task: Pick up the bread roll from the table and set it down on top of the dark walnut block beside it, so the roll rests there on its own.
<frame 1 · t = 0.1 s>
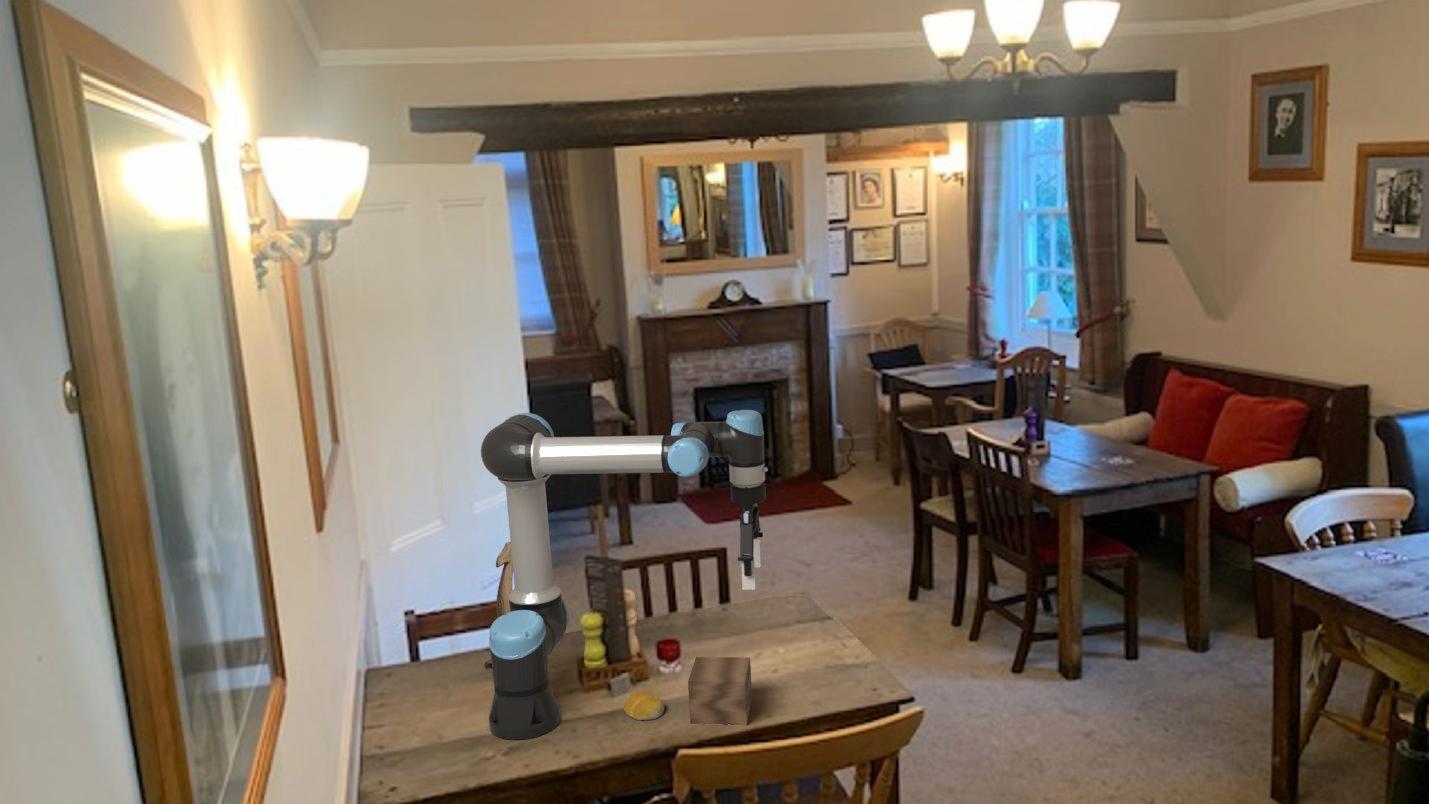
hand: (752, 577, 230), 28 cm above the table, tool pointing down, fingers open, 13 cm apart
bread roll: (644, 713, 232), on the table
walnut block: (721, 712, 230), on the table
bird sculpture: (516, 667, 258), on the table
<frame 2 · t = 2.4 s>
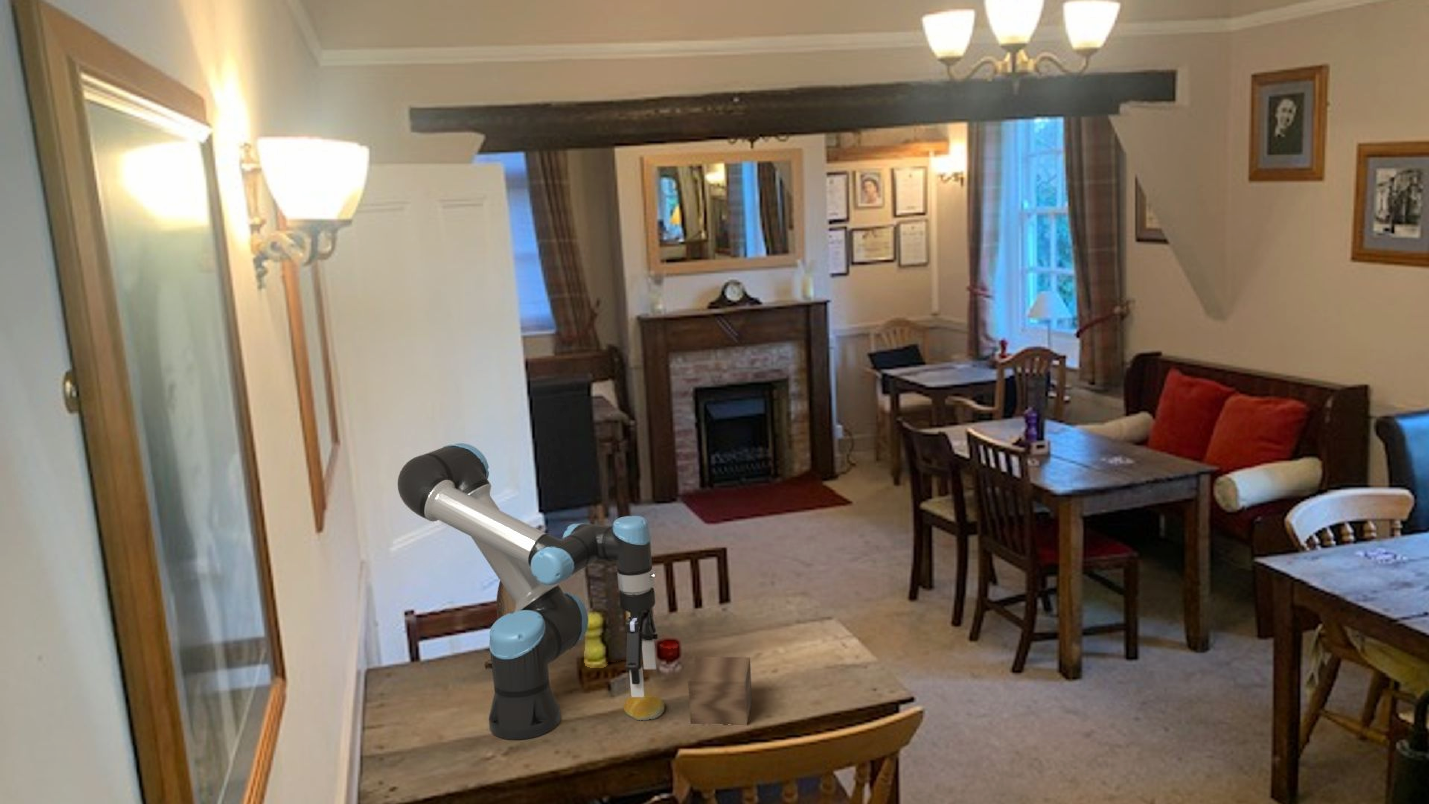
hand: (644, 682, 230), 7 cm above the table, tool pointing down, fingers open, 13 cm apart
nothing on the table moved.
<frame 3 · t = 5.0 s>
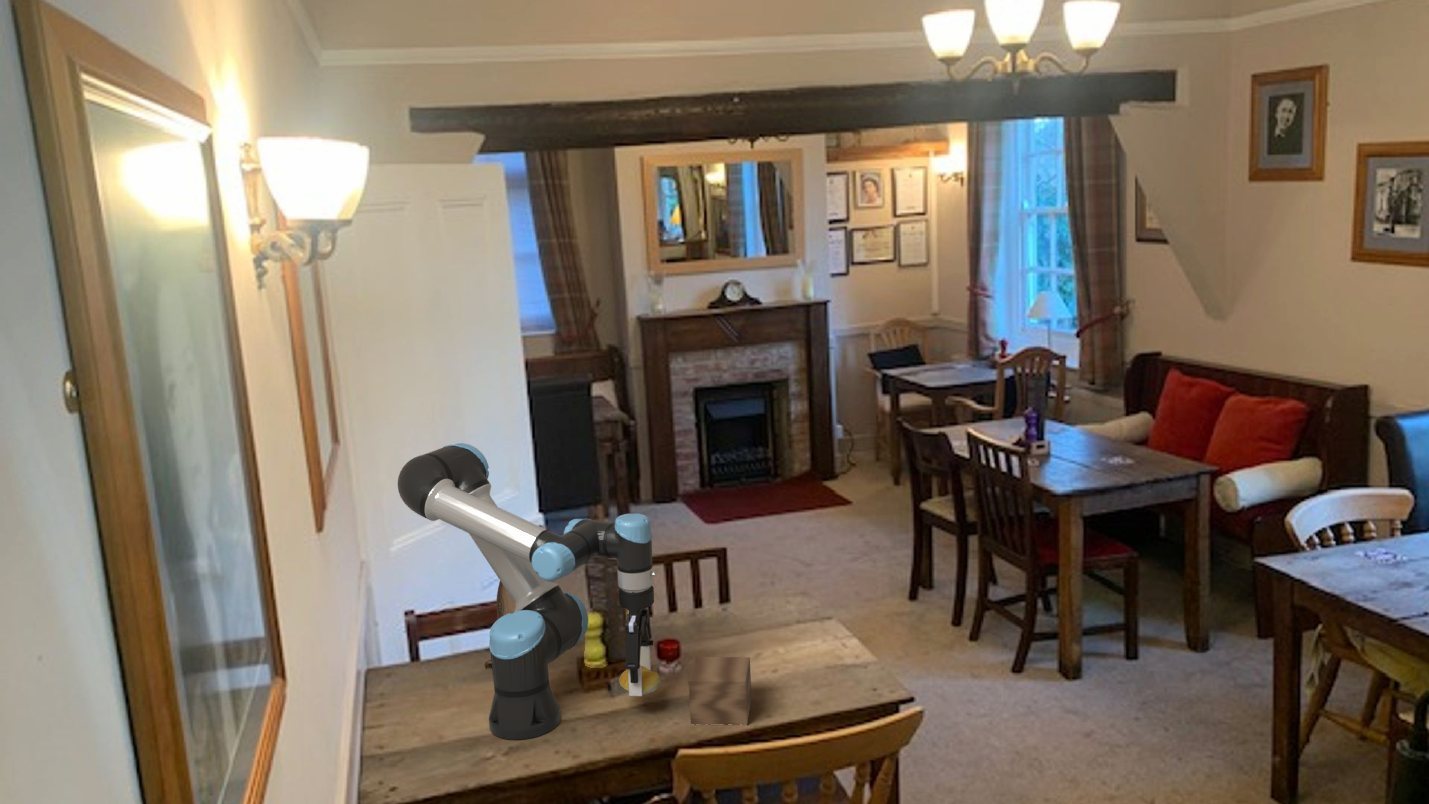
hand: (640, 684, 231), 6 cm above the table, tool pointing down, fingers closed on bread roll, 9 cm apart
bread roll: (639, 687, 231), point 6 cm above the table, touching gripper
everything else where it was.
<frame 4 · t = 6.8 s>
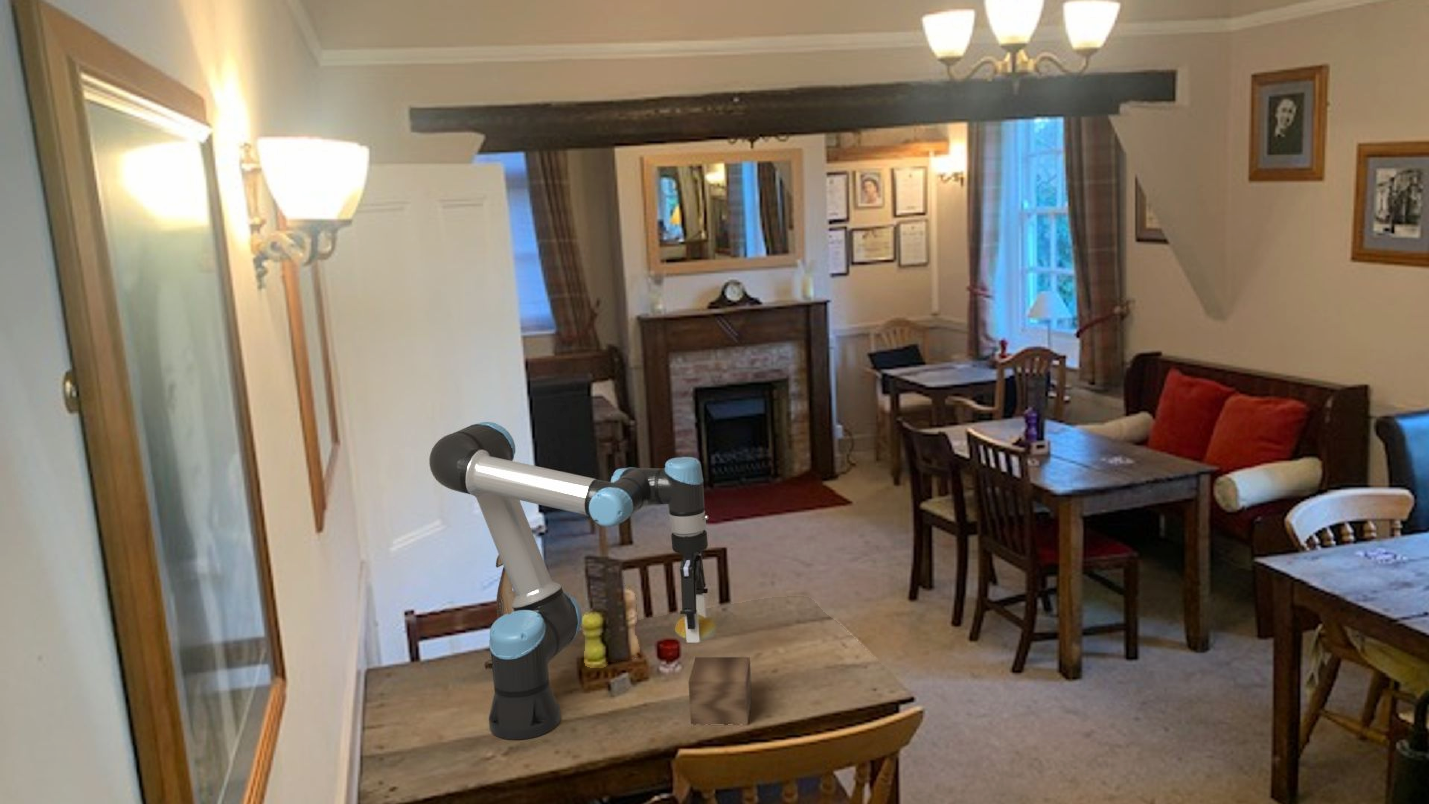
hand: (697, 632, 227), 18 cm above the table, tool pointing down, fingers closed on bread roll, 9 cm apart
bread roll: (696, 635, 227), point 18 cm above the table, touching gripper
everything else where it was.
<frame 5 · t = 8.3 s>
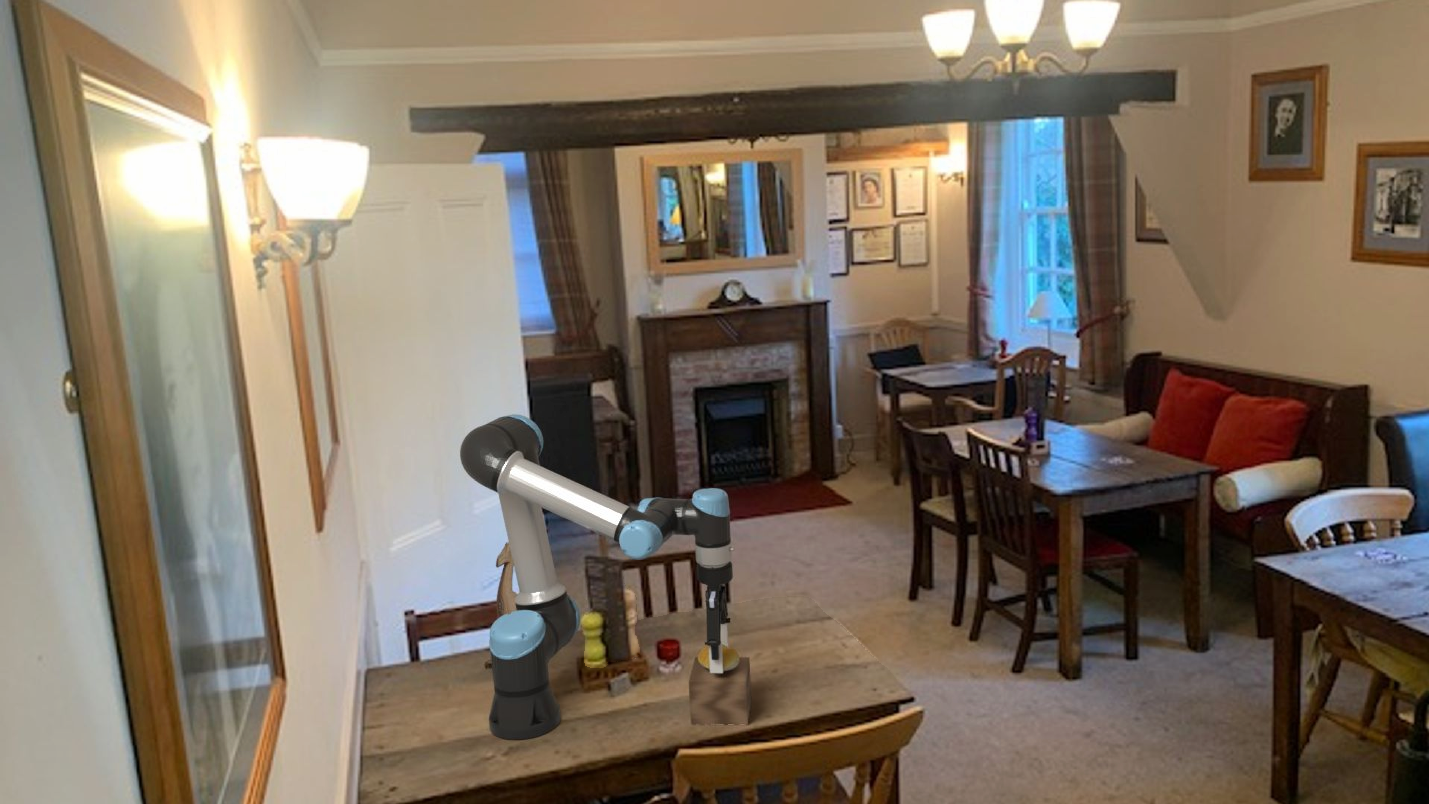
hand: (719, 662, 228), 11 cm above the table, tool pointing down, fingers closed on bread roll, 9 cm apart
bread roll: (719, 664, 228), point 11 cm above the table, touching gripper
everything else where it was.
when the fingers open (11 cm above the table, at t = 9.3 s): bread roll stays where it is, resting on walnut block.
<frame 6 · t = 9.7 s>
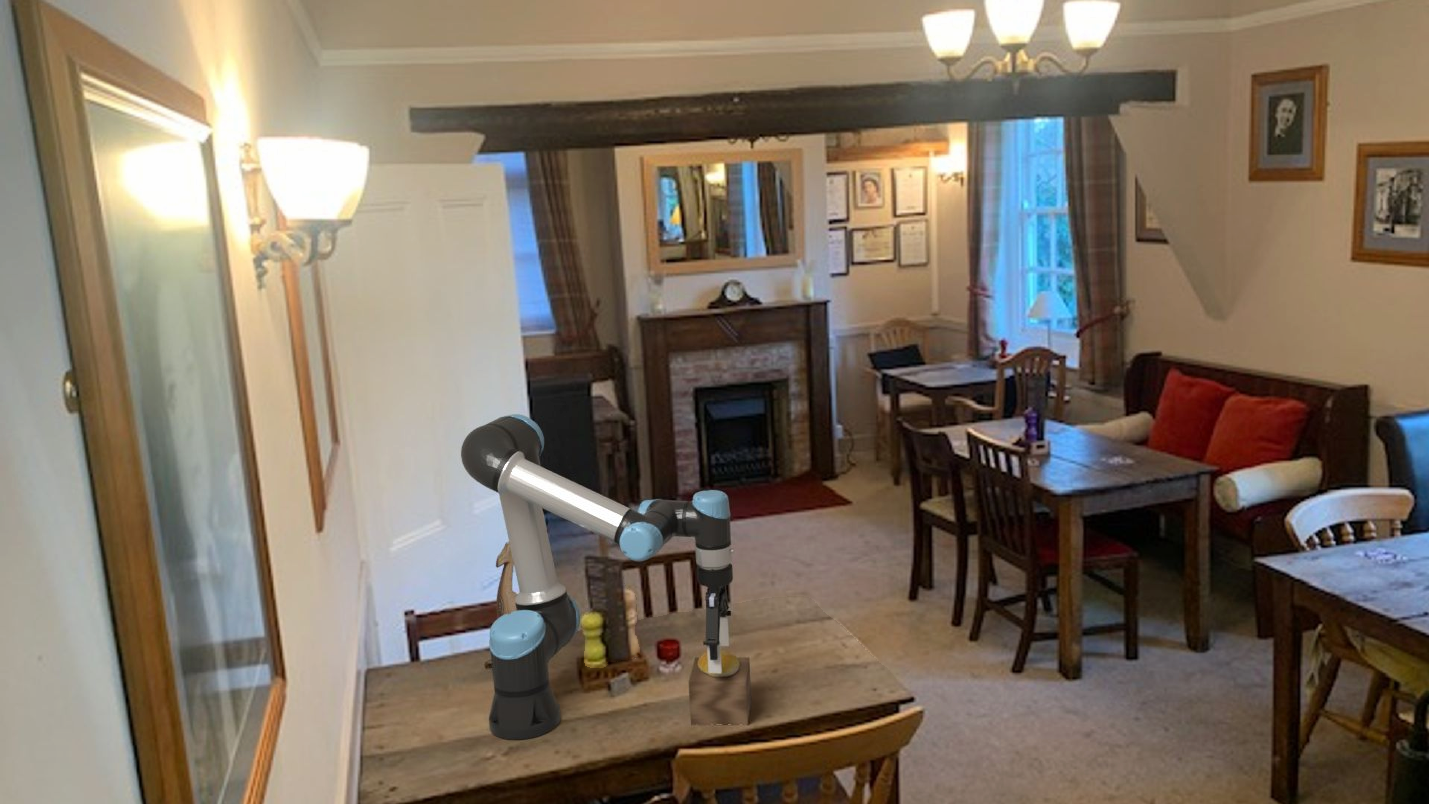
hand: (719, 658, 227), 12 cm above the table, tool pointing down, fingers open, 13 cm apart
bread roll: (718, 670, 228), point 10 cm above the table, touching walnut block
walnut block: (721, 712, 230), on the table, touching bread roll
everything else where it was.
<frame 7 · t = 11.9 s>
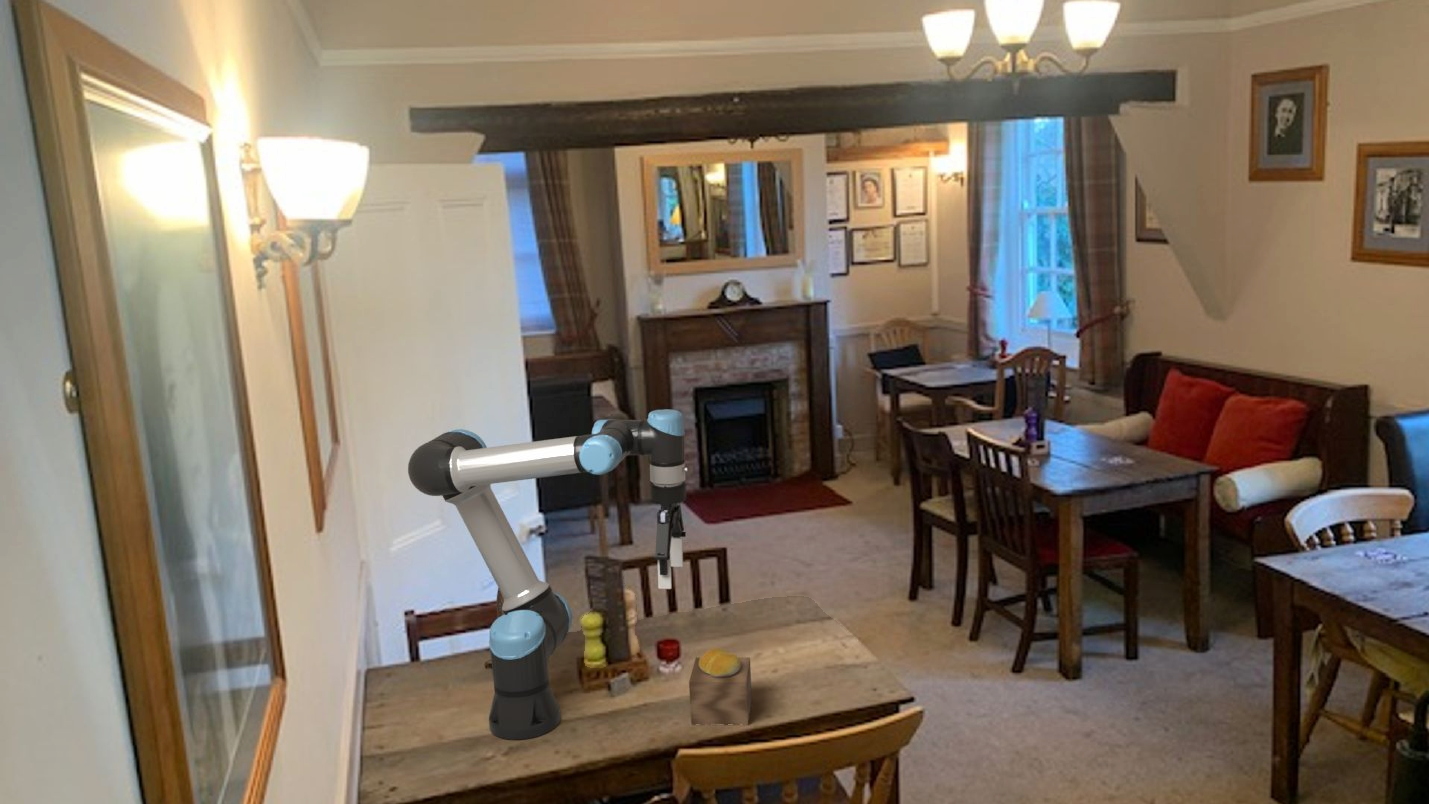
hand: (671, 577, 231), 29 cm above the table, tool pointing down, fingers open, 13 cm apart
nothing on the table moved.
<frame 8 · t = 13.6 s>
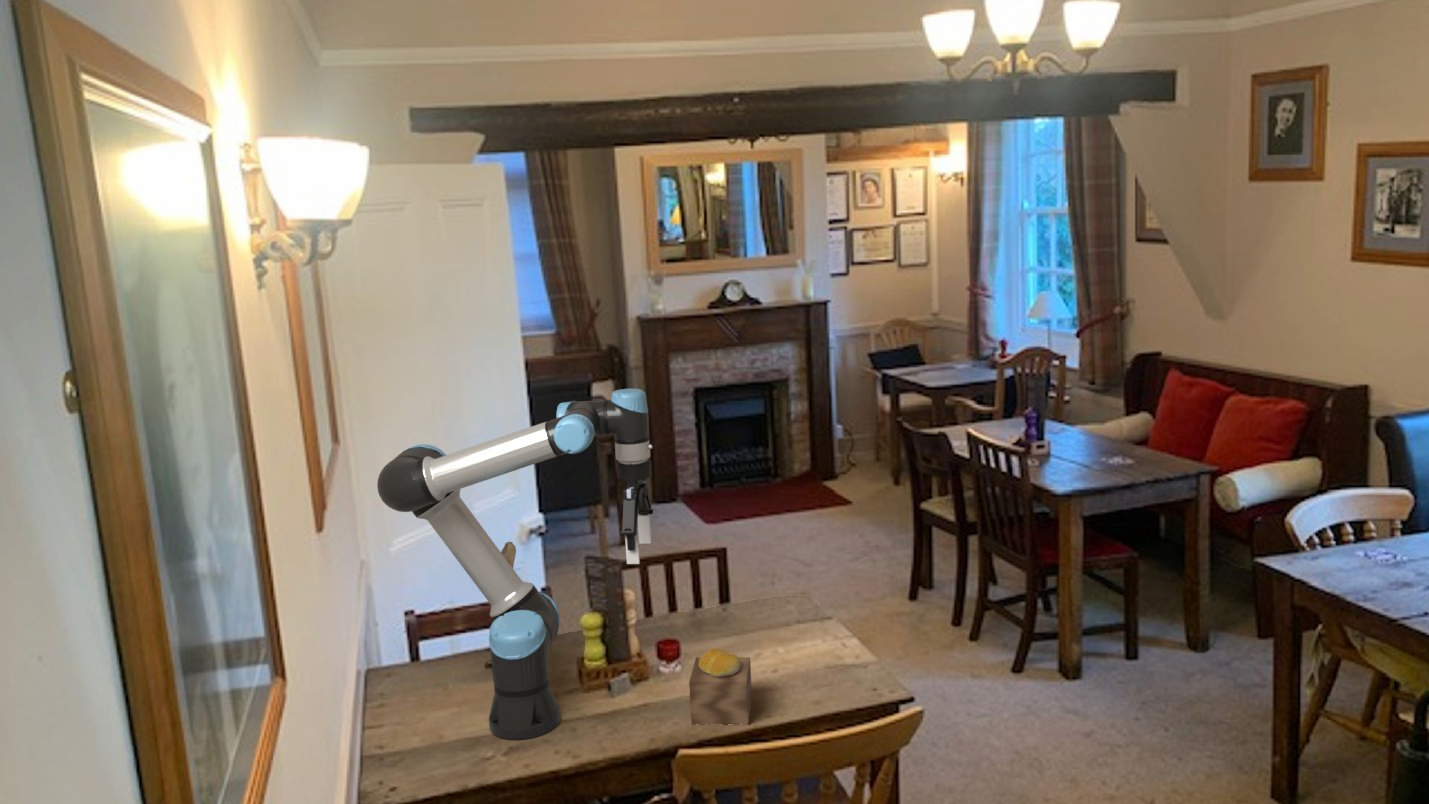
hand: (639, 553, 235), 33 cm above the table, tool pointing down, fingers open, 13 cm apart
nothing on the table moved.
at the end: bread roll inside the target area on the walnut block (0.2 cm from its centre), point 9.8 cm above the walnut block's base; bread roll touching walnut block; the gripper is holding nothing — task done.
